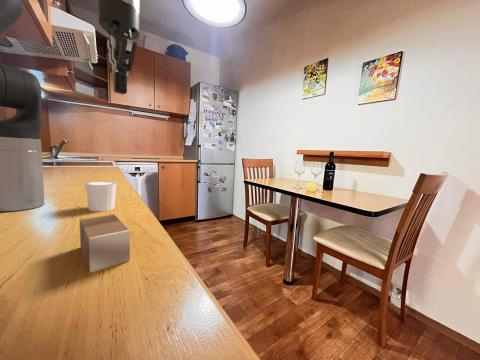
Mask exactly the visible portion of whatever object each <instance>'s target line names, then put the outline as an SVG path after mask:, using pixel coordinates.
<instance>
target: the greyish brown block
mask: <svg viewBox="0 0 480 360" xmlns="http://www.w3.org/2000/svg"><path fill="white" fill-rule="evenodd" d="M130 232H131V231H130V229H129V228H128V227H127V226H126V225H125V224H124V223H123V222H122V221H121V219H119V218H118V217H117V216H116V214H109V215H102V216H101V215H100V216H96V217H94V216H93V217H88V218H80V219H79V234H80V236H79V237H80V238H79V239H80V242H79V244H80V250H81V251H82V255H83V257H84V261H85V262H86V265H87V269H88V270H89V272H90V273H94V272H98V271H101V270H105V269H107V268H110V267H114V266H117V265H120V264H124V263H128V262H130V261H131V250H130V249H131V247H130V245H131V233H130Z"/></svg>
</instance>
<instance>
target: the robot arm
mask: <svg viewBox="0 0 480 360" xmlns="http://www.w3.org/2000/svg"><path fill="white" fill-rule="evenodd" d="M97 5H98V8H97V9H98V24H99V25H100V27H101V28H102V30H104V31H105V32H106V33H107V34H108V35H110V36H109V38H107V41H106V42H107V50H108V52H106V53H105V58H106V62H107V65H108V69H109V73H110V74H112V75H113V91H114V93H115V94H118V95H126V94H127V92H128V76H129V72H132V68H133V62H134V60H135V55H136V49H137V46H138V45H137V42H135V40H137V39H139V38H140V34H141V28H140V27H141V24H140V23H141V21H140V19H141V13H140V11H141V9H140V8H141V1H140V0H97ZM23 6H24V5H23V0H0V36H1V35H2V34H3V33H5V31H8V30H9V29H10V28H11V27H12V26H13V25H15V24H16V23H17V22H18V20H20V18H21V17H22V14H23V13H24V12H23V11H24V7H23ZM42 99H43V98H42V88H41V84H40V81H39V79H38V77H37V76H36V75H35V74H33V73H31V72H29V71H26V70H22V69H19V68H16V67H11V66H9V65H5V64H2V63H0V107H3V108H10V109H15V114H14V115H13V116H12V117H9V118H5V119H2V120H0V212H14V211H24V210H30V209H35V208H39V207H42V206H44V205H45V184H44V183H45V182H44V172H43V171H44V170H43V155H42V152H43V151H42V139H41V131H42V125H43V123H42Z"/></svg>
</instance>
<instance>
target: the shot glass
mask: <svg viewBox="0 0 480 360" xmlns="http://www.w3.org/2000/svg"><path fill="white" fill-rule="evenodd" d="M84 186H85V192H86V199H87V206H88V210H89V211H90V212H94V213H95V212H107V210H108V211H110V210H111V211H112V210H113V209H115V202H116V193H117V191H116V190H117V183H116V182H115V181H108V180H107V181H106V180H105V181H104V180H102V181H101V180H99V181H90V182H86V183H84Z"/></svg>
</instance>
